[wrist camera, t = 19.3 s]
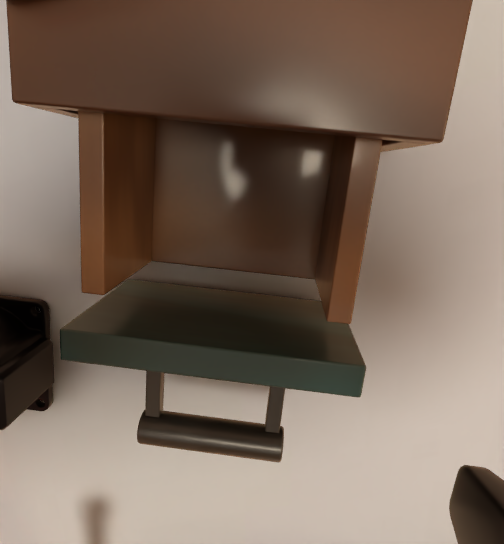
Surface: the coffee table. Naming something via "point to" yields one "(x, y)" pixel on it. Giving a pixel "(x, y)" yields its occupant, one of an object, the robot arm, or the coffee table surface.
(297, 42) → the cabinet
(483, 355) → the coffee table surface
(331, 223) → the drawer
